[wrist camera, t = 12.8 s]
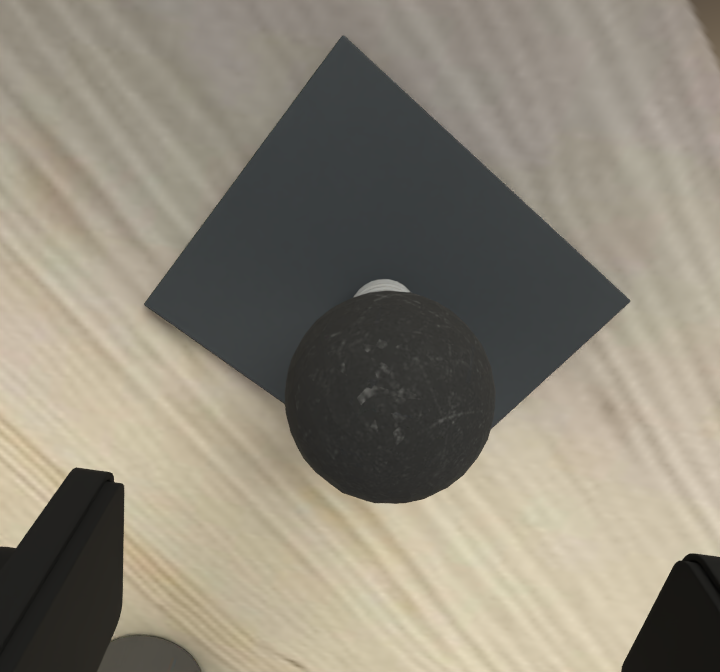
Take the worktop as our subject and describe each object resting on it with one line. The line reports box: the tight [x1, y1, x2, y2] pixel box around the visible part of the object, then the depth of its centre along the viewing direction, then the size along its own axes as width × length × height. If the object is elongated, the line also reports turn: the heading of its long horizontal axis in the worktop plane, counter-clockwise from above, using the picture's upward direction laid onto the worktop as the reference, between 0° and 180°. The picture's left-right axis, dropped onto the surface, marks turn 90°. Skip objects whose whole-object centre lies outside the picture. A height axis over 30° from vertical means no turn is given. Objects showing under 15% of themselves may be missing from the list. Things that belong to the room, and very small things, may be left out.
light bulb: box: [285, 279, 496, 504], centre depth 18 cm, size 6×6×10 cm
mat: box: [144, 36, 630, 430], centre depth 23 cm, size 14×12×1 cm
